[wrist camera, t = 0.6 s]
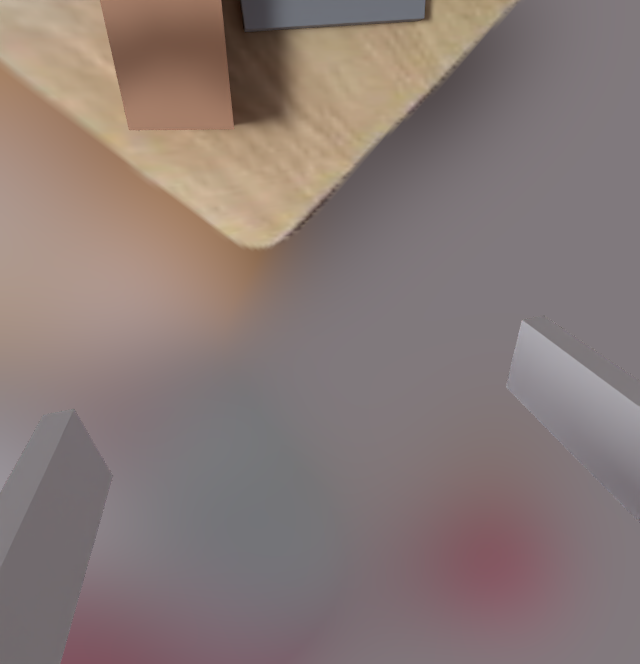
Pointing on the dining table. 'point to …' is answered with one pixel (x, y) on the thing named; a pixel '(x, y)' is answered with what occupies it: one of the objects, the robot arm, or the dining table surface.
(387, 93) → the dining table surface
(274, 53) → the dining table surface
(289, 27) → the fulcrum
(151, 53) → the cherry bar
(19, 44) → the dining table surface
